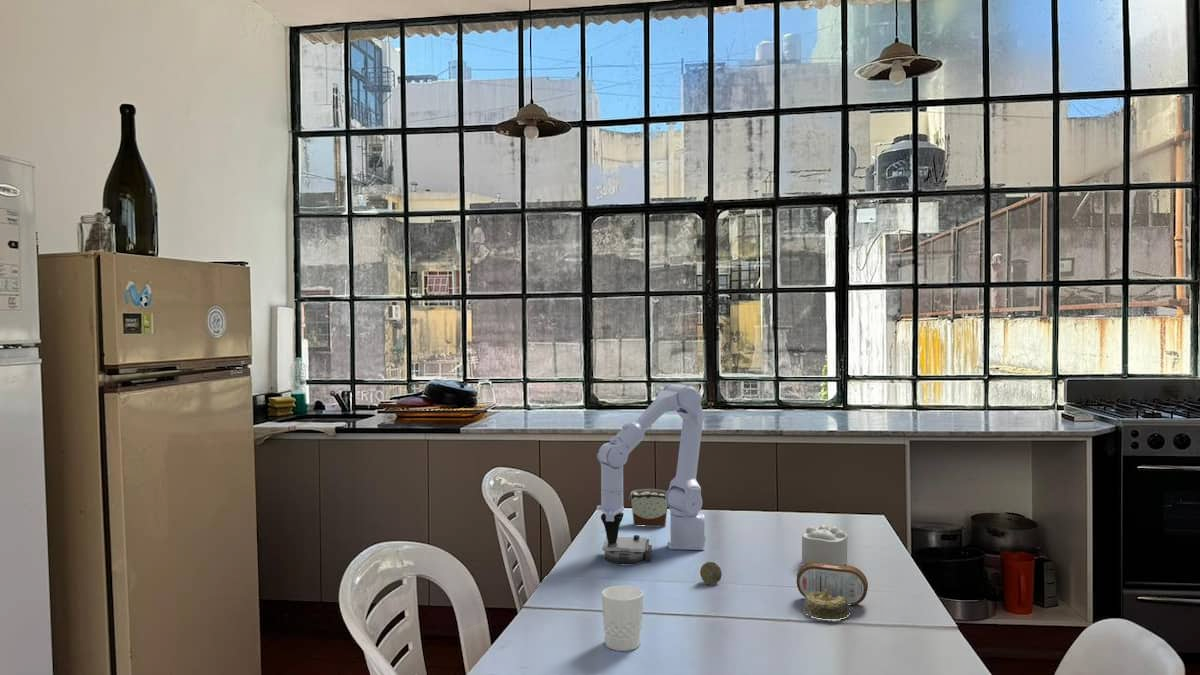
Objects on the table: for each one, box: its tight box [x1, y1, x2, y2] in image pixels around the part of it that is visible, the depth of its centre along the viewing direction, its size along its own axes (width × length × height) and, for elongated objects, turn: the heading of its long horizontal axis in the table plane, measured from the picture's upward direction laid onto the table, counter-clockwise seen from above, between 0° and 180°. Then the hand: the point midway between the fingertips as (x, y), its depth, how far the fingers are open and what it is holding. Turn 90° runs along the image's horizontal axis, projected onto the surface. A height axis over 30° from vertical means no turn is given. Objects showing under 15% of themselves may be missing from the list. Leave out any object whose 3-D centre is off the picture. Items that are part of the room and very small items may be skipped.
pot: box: [604, 544, 653, 565], centre depth 204 cm, size 12×17×3 cm
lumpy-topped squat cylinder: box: [801, 524, 848, 565], centre depth 201 cm, size 10×13×9 cm
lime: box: [699, 561, 723, 586], centre depth 185 cm, size 4×5×5 cm
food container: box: [628, 488, 669, 527], centre depth 237 cm, size 12×6×10 cm, turn 84°
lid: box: [602, 534, 650, 552], centre depth 204 cm, size 12×10×2 cm
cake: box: [802, 589, 851, 619], centre depth 167 cm, size 10×10×5 cm
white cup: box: [601, 585, 644, 652], centre depth 151 cm, size 8×8×10 cm
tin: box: [796, 562, 869, 606], centre depth 172 cm, size 15×3×8 cm, turn 71°
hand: (612, 541), depth 204 cm, fingers closed
